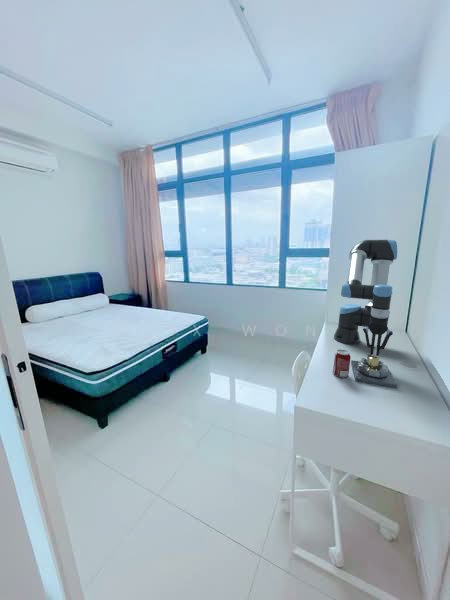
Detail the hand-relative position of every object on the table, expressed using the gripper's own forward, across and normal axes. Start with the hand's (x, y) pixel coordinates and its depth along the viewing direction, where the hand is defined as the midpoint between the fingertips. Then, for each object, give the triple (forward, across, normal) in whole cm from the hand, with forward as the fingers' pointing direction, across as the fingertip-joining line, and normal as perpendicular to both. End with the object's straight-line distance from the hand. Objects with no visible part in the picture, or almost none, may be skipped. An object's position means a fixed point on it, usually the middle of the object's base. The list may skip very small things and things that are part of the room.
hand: (373, 360), depth 125 cm
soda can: (+3, -14, -17) cm, 22 cm away
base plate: (+3, -1, -10) cm, 10 cm away
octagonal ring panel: (+1, -1, -6) cm, 7 cm away
